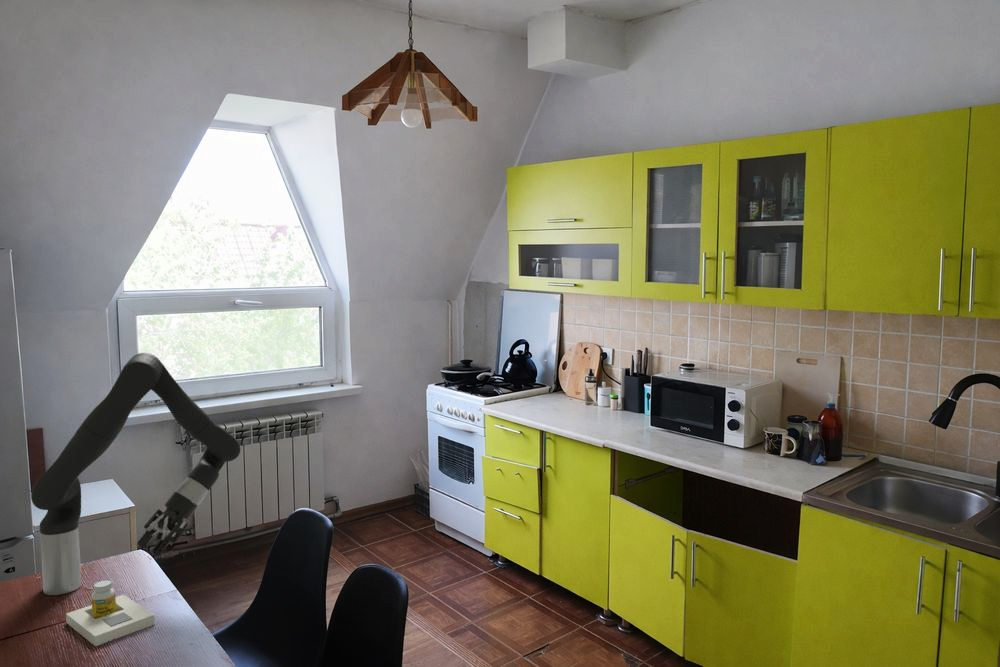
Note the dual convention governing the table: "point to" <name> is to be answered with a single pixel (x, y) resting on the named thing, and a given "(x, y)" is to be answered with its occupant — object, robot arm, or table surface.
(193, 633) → the table surface
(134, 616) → the socket dock
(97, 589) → the supplement bottle
